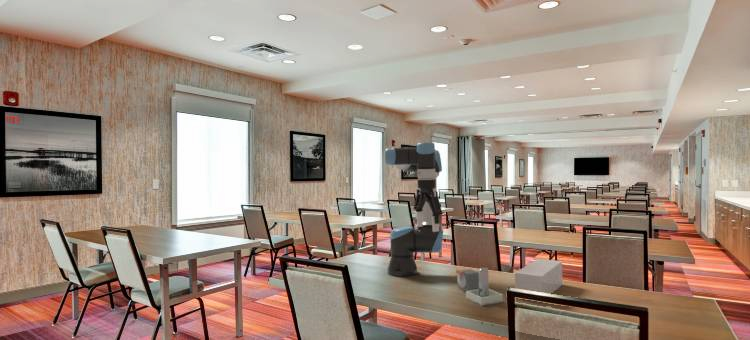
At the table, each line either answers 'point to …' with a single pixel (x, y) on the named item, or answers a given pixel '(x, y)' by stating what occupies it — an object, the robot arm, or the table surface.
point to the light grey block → (540, 276)
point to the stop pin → (483, 282)
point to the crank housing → (467, 280)
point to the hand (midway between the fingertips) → (427, 228)
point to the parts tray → (491, 299)
